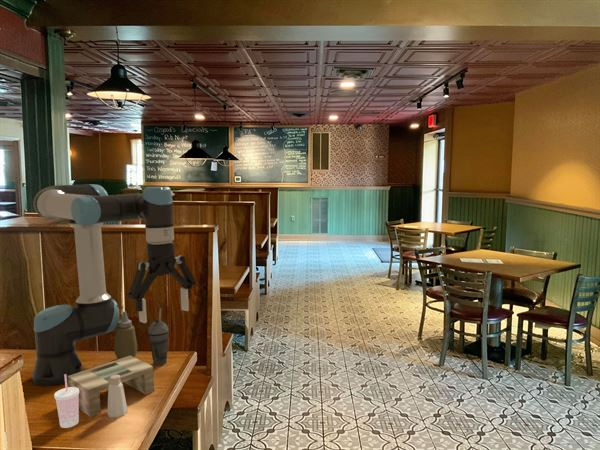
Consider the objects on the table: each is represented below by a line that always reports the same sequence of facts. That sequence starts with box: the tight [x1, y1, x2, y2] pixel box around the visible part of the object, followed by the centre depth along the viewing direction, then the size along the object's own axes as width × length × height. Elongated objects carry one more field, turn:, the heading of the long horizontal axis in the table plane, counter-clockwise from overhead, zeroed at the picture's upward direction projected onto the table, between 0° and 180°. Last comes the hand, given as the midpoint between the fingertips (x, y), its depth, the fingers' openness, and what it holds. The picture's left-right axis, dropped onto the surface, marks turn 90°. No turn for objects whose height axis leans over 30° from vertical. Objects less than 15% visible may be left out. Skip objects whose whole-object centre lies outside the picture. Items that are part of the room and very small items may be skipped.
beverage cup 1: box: [53, 374, 80, 429], centre depth 125 cm, size 6×6×14 cm
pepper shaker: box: [107, 375, 128, 419], centre depth 130 cm, size 5×5×11 cm
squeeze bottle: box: [113, 311, 138, 360], centre depth 168 cm, size 8×8×18 cm
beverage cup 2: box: [147, 308, 170, 367], centre depth 164 cm, size 7×7×20 cm
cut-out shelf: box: [67, 356, 155, 418], centre depth 140 cm, size 14×20×8 cm
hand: (165, 316), depth 130 cm, fingers open, 13 cm apart
